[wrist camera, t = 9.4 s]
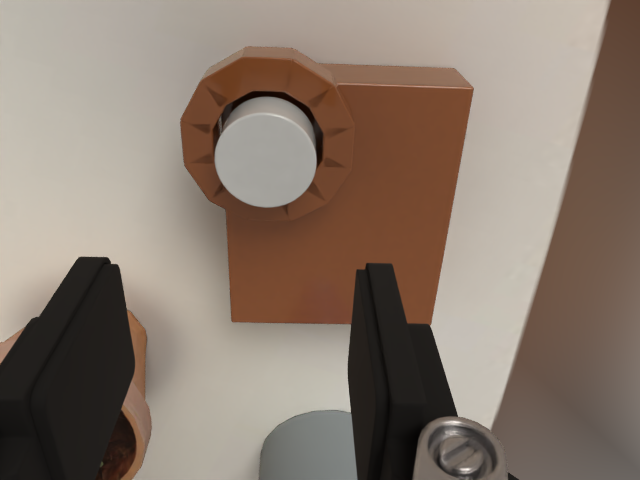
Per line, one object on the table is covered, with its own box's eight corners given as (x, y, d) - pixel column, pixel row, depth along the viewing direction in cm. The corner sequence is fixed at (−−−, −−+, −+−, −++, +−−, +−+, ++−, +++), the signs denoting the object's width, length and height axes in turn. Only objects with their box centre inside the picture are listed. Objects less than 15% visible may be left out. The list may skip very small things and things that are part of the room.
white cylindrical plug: (219, 94, 20) (210, 111, 18) (317, 97, 20) (318, 114, 19) (223, 183, 22) (216, 207, 20) (314, 186, 22) (314, 209, 20)
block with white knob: (197, 28, 23) (173, 54, 19) (460, 38, 24) (494, 65, 20) (215, 285, 30) (199, 347, 26) (419, 289, 31) (438, 350, 26)
